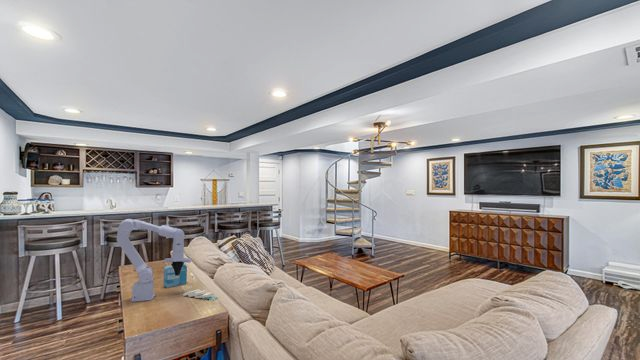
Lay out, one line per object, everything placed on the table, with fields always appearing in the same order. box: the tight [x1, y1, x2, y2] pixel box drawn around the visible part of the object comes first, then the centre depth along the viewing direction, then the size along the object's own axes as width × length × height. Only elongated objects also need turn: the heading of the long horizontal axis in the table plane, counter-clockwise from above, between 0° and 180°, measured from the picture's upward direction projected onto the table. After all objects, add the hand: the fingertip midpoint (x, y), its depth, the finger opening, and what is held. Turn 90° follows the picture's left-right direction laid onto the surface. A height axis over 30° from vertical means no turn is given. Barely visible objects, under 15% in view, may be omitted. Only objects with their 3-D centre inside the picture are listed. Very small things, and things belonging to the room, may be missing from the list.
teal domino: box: [201, 295, 219, 301], centre depth 152 cm, size 1×4×9 cm
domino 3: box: [194, 291, 214, 299], centre depth 152 cm, size 1×4×9 cm
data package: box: [163, 263, 188, 289], centre depth 173 cm, size 12×4×12 cm, turn 133°
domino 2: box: [187, 289, 207, 298], centre depth 154 cm, size 1×4×9 cm
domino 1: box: [182, 288, 202, 297], centre depth 155 cm, size 1×4×9 cm
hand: (177, 275), depth 159 cm, fingers closed
